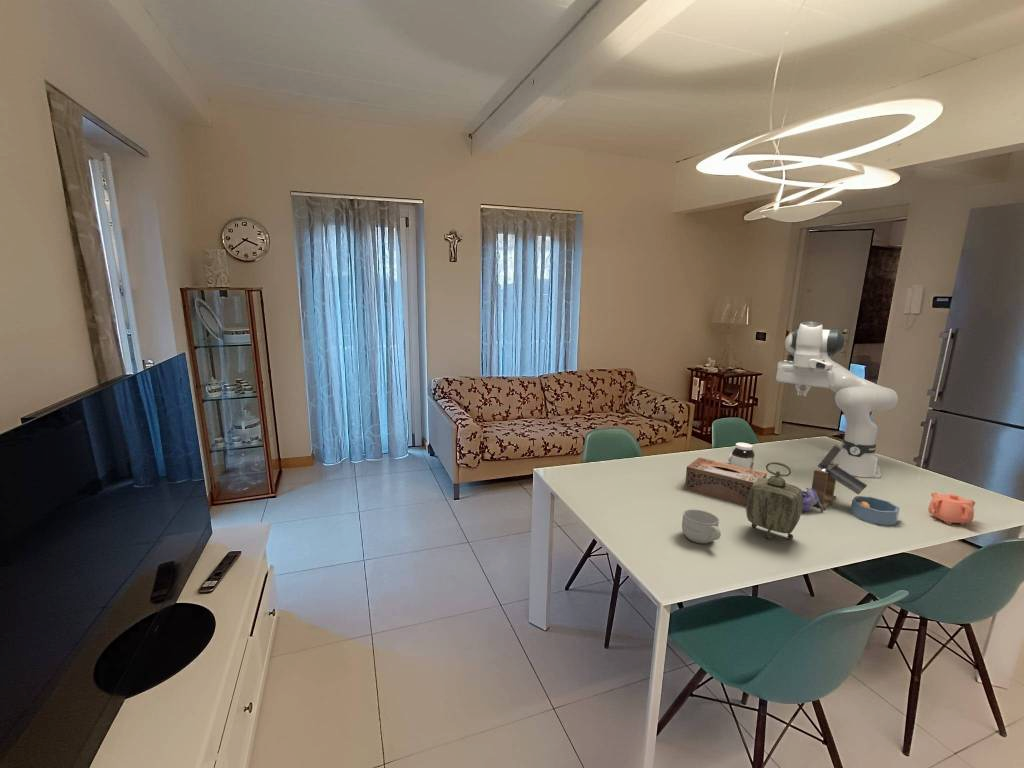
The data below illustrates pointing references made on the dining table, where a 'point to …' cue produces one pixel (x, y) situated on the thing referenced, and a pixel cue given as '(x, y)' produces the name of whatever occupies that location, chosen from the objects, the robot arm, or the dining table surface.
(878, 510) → the blue octagonal bowl
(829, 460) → the lever
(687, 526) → the teacup
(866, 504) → the ball
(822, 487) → the stand
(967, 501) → the teapot
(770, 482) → the tabletop clock
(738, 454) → the spread jar
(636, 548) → the dining table surface
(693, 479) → the tissue box cover
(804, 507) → the flower
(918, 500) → the dining table surface
